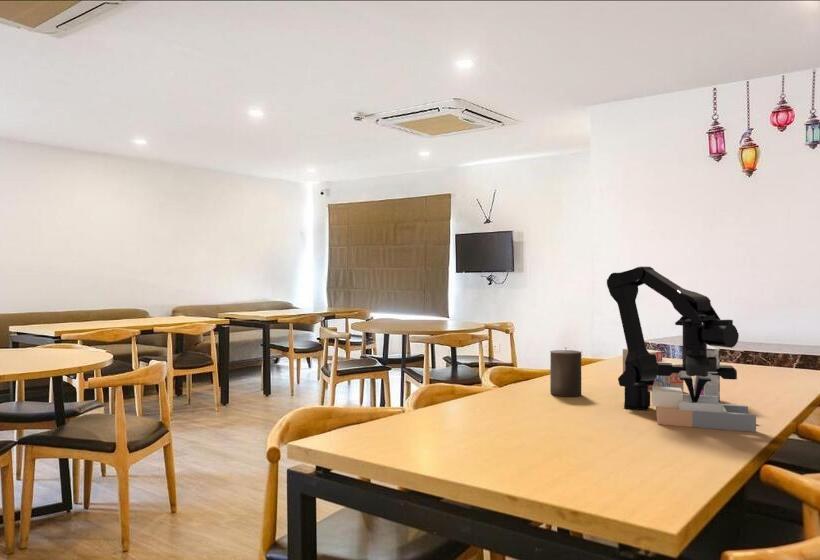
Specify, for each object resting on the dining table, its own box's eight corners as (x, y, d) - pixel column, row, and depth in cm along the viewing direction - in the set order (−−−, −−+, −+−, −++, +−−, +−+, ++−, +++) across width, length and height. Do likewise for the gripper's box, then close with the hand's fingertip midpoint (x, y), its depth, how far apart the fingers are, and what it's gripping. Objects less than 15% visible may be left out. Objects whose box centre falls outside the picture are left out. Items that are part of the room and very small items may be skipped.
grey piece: (657, 424, 152) (657, 408, 152) (655, 414, 164) (655, 399, 164) (756, 432, 145) (756, 415, 145) (747, 420, 156) (747, 405, 156)
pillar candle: (582, 397, 186) (583, 349, 186) (550, 396, 187) (550, 348, 188) (579, 392, 195) (580, 346, 195) (549, 390, 197) (549, 345, 197)
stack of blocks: (684, 392, 195) (684, 354, 195) (669, 393, 193) (670, 355, 193) (635, 381, 215) (635, 347, 215) (622, 382, 212) (622, 348, 212)
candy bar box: (692, 396, 188) (692, 344, 188) (709, 397, 187) (709, 344, 187) (702, 403, 177) (702, 348, 177) (720, 404, 176) (720, 348, 176)
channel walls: (679, 409, 151) (679, 401, 151) (675, 400, 162) (676, 393, 162) (723, 412, 147) (723, 404, 147) (717, 403, 158) (717, 396, 158)
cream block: (653, 406, 155) (653, 390, 155) (652, 401, 162) (652, 386, 162) (682, 408, 153) (682, 392, 153) (680, 402, 159) (680, 387, 159)
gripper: (656, 345, 150) (656, 407, 151) (740, 348, 144) (740, 413, 144) (655, 341, 161) (655, 399, 161) (733, 343, 154) (733, 404, 154)
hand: (694, 404), depth 155 cm, fingers closed
